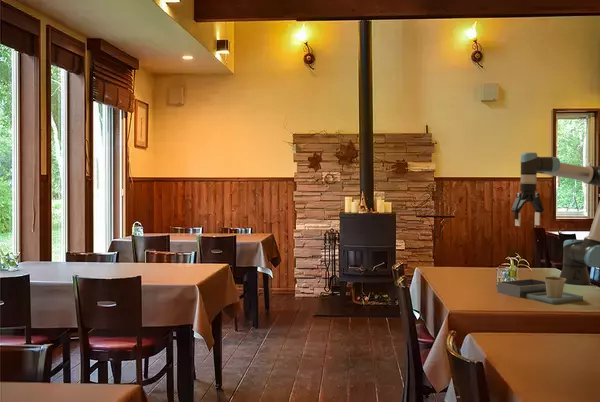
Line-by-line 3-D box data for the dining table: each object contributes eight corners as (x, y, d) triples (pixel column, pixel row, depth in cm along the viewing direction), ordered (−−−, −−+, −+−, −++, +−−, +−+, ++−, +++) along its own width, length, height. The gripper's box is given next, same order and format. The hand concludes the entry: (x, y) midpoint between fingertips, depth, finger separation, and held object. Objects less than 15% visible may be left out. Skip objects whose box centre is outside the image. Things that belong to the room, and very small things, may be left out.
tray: (556, 294, 271) (557, 290, 271) (582, 300, 259) (583, 296, 259) (526, 298, 262) (526, 293, 262) (551, 304, 250) (551, 299, 250)
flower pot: (568, 299, 255) (568, 280, 255) (545, 298, 257) (546, 279, 257) (562, 295, 264) (563, 277, 264) (541, 294, 266) (541, 276, 266)
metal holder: (531, 288, 287) (531, 278, 287) (554, 293, 274) (555, 283, 274) (497, 292, 277) (497, 281, 276) (519, 297, 264) (520, 286, 264)
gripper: (540, 183, 295) (539, 224, 296) (504, 183, 284) (503, 225, 285) (552, 183, 288) (551, 225, 289) (515, 183, 277) (515, 226, 278)
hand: (527, 225), depth 287 cm, fingers open, 13 cm apart
